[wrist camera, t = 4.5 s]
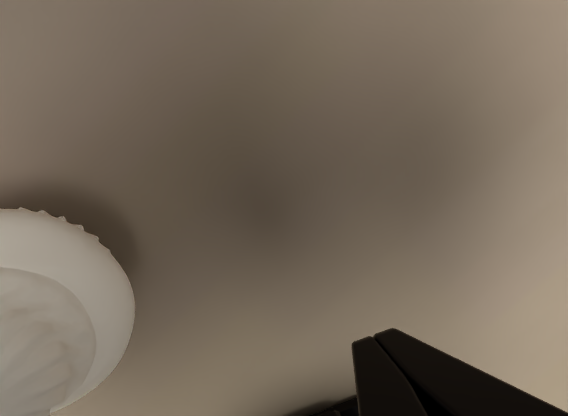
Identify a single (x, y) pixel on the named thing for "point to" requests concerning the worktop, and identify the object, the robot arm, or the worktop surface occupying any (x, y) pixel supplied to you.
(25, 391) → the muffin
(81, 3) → the worktop surface
